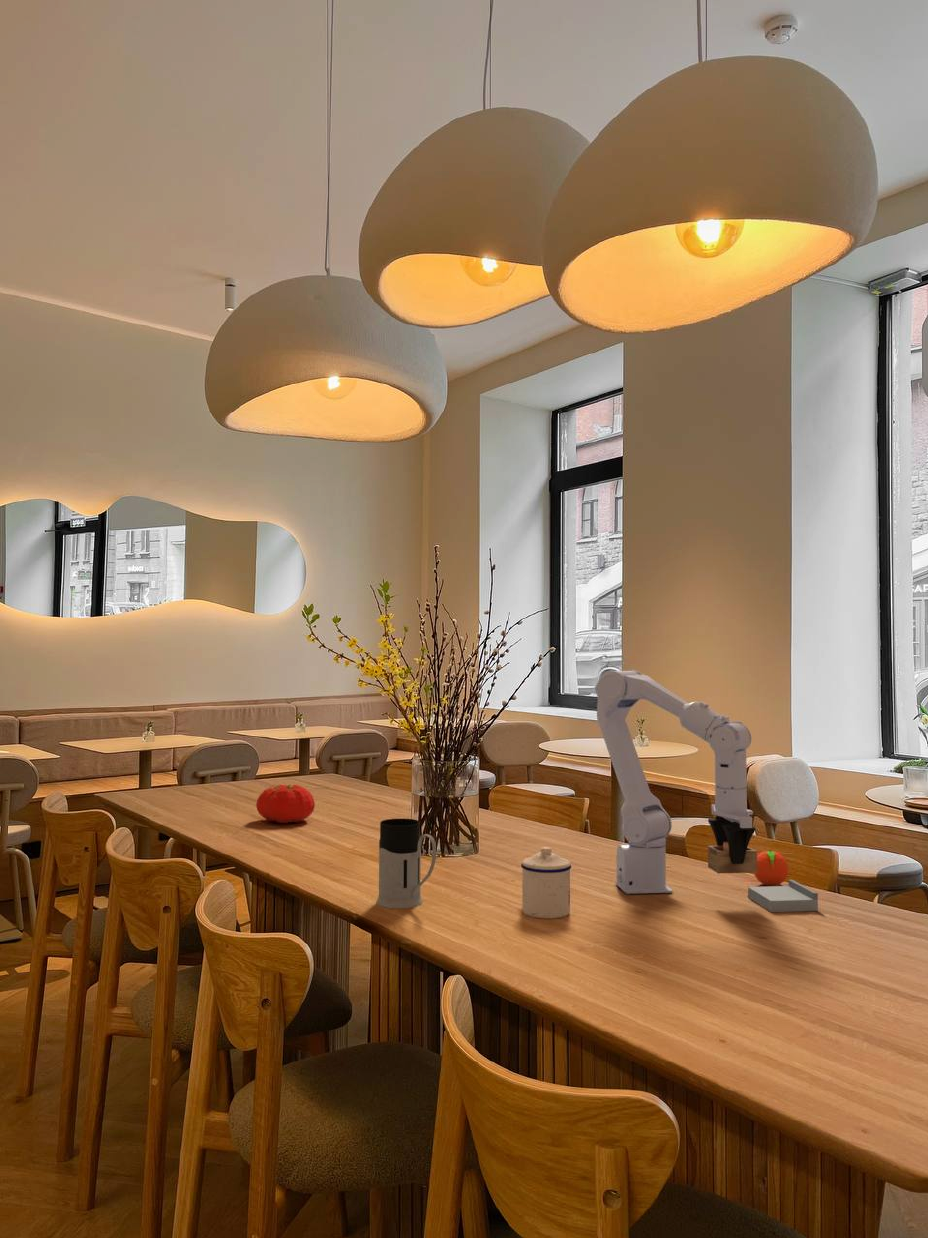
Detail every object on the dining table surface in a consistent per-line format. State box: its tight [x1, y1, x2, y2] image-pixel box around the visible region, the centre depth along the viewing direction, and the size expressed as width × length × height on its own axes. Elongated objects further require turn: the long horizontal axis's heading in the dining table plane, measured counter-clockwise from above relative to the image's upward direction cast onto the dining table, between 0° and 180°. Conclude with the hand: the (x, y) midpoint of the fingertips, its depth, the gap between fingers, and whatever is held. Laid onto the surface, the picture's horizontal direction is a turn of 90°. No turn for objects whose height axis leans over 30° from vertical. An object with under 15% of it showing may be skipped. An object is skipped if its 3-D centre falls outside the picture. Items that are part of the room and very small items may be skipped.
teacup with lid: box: [521, 846, 572, 920], centre depth 167 cm, size 12×9×12 cm
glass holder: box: [375, 818, 437, 910], centre depth 171 cm, size 9×14×15 cm, turn 44°
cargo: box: [723, 841, 729, 851], centre depth 171 cm, size 3×3×2 cm
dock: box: [747, 879, 819, 913], centre depth 172 cm, size 9×10×3 cm
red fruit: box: [753, 849, 789, 887], centre depth 185 cm, size 8×7×7 cm
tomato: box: [255, 784, 316, 824], centre depth 254 cm, size 14×16×10 cm
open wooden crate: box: [707, 845, 758, 874], centre depth 171 cm, size 8×5×4 cm, turn 96°
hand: (731, 859), depth 171 cm, fingers closed on open wooden crate, 5 cm apart
